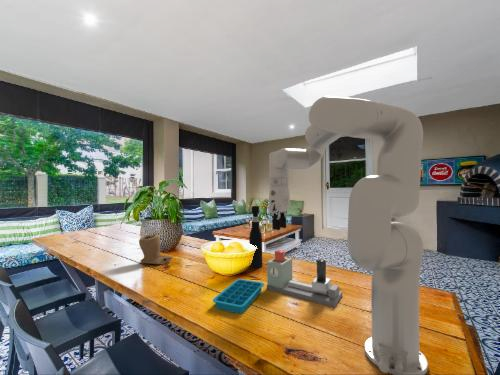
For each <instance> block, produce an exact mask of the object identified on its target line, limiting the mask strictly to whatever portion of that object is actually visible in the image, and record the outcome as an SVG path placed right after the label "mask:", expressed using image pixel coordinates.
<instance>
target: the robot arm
mask: <svg viewBox="0 0 500 375" xmlns="http://www.w3.org/2000/svg"><path fill="white" fill-rule="evenodd" d="M308 121H309V123H310V124H311V125H309V126H308V127H307V128H306V130H305V132H304V136H305V141H306V143H307V144H308V146H307V147H306V148H304V149H303V148H289V147H287V148H281V149H278V150H276V151H271V152H270V153H269V156H268V159H269V161H268V162H269V164H268V165H269V167H268V168H269V170H268V172H269V196H268V207H269V211H268V213H269V214H270V216H271V220H272V230H276V231H281V229H286V228H287V217H288V216H287V214H288V212H289V211H290V210H291V196H290V188H289V185H290V184H289V182H290V181H289V170H306V169H308V168H311V167H312V166H314V165H316V164H317V163H318V162H320V161H321V160H322V158H323V156H324V154H325V152H326V148H328V146H330V145H331V144H332V143H334V142H335V141H337V140H338V139H339V138H341V137H342V136H345V137H350V138H356V139H357V138H358V139H363V140H364V139H365V140H376V141H381V142H383V143H382V145H381V147H380V149H379V152H378V154H377V160H376V164H377V165H376V166H377V167H376V174H375V175H374V174H372V175H368V176H367V175H366V176H365V177H362V178H360V179H359V180H358V181H357V182H356V183H355V184H354V186H353V187H352V189H351V191H350V194H349V198H348V214H347V215H348V217H347V240H346V241H347V250H348V253H349V255H350V256H349V257H350V258H351V260H352V261H353V262H354V264H355V265H356V266H357V267H358V268H360V269H363V270H365V271H369V272H372V273H371V280H370V281H371V289H370V290H371V291H370V292H371V297H370V298H371V303H370V304H371V337H369V338H368V339H366V341H365V342H364V352H365V355H366V356H367V358H368V359H369V360H370V361H371V362H372V363H373V364H374V365H375V366H376V367H378V369H379V370H380V371H381V372H382V373H384V374H388V373H389V374H392V375H426V374H427V373H428V370H429V363H428V359H427V358H426V356H425V355H424V353H422V352H421V351H420V277H421V276H420V275H421V268H422V262H423V257H424V242H423V239H422V236H421V234H420V233H419V232H418V231H417V229H415V228H414V227H413V226H411V225H410V224H407V223H405V222H401V221H393V220H392V219H394V218H395V219H396V218H400V217H401V218H402V217H406V216H410V215H411V214H413V213H414V212H415V211H416V210H417V208H418V206H419V203H420V194H421V193H420V191H421V190H420V189H421V188H420V187H421V175H422V174H421V172H422V151H423V150H422V149H423V142H424V129H423V124H422V122H421V119H420V118H419V117H418V116H417V115H416V114H415V113H413V112H412V111H410V110H409V109H406V108H402V107H399V106H395V105H392V104H387V103H383V102H377V101H373V100H369V99H364V98H357V97H356V98H354V97H341V96H340V97H339V96H330V95H325V96H322V97H320V98H318V99H316V100H315V101H314V102H313V103H312V105H311V107H310V109H309V111H308Z"/></svg>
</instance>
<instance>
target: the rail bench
mask: <svg viewBox="0 0 500 375" xmlns="http://www.w3.org/2000/svg"><path fill="white" fill-rule="evenodd" d="M266 267H267V268H266V280H267V281H266V282H267V283H266V290H270V291H273V292H277V293H281V294H285V295H288V296H292V297H295V298H298V299H303V300H305V301H310V302H314V303H318V304H322V305H325V306H329V307H333V308H336V306H337V304H338V303H339V302H340V300H341V298H342V297H343V291H342V290H340V285H338V284H331V287H330V289H329V290H328V291H327V295H324V294H320V293H316V292H313V290H312V283H306V282H302V281H298V280H294V279H293V258H290V257H286V256H285V262H283V263H281V262H276V261H275V257H274V258H271V259H269V260H268V261H266Z"/></svg>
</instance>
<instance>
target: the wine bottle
mask: <svg viewBox="0 0 500 375" xmlns="http://www.w3.org/2000/svg"><path fill="white" fill-rule="evenodd" d="M259 213H260V205H252V206H251V214H252V218H251V220H252V221H251V229H250V233H249V239H248V240H249V242H248V243H250V244H252V245H254V246H255V245H256V246H257V248H258V249H256V251H255V253H254V256H253V260H252V263H251V265H250V264H249V267H250V268H251V269H259V268H262V267H263V235H262V231H261V228H260V220H259ZM256 246H255V247H256Z"/></svg>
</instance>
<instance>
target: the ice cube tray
mask: <svg viewBox="0 0 500 375" xmlns="http://www.w3.org/2000/svg"><path fill="white" fill-rule="evenodd" d="M264 286H265V284H264V282H262V281H254V280H249V279H248V280H247V279H242V278H238V279H236V280H234V281H233V282H232V283H231V284H230V285H229V286H226V288H225V289H223V290H222V291H221V292H220V293H219V294H217V295H216V296H214V298H213V299H212V302H213V303H215V309H217V310H223V311H225V312H226V311H227V312H232V313H236V314H242V313H244V312H245V311H246V310H247V309H248V308H249V306H250V305H252V303H253V302H254V301H255V300H256V298H257V297H258V296H259V295H260V294H261V292H262V288H263V287H264Z"/></svg>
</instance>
